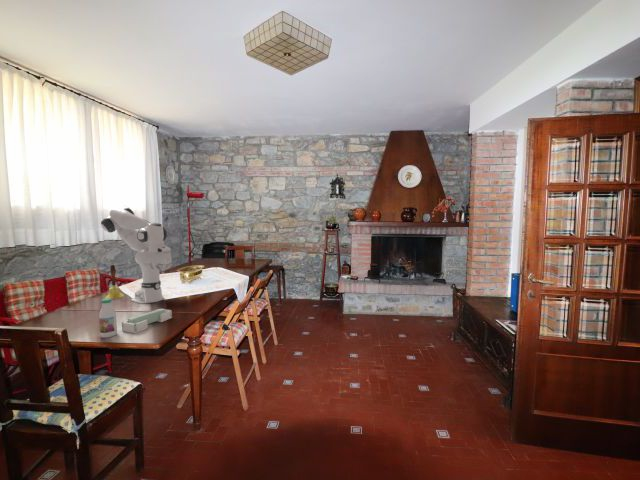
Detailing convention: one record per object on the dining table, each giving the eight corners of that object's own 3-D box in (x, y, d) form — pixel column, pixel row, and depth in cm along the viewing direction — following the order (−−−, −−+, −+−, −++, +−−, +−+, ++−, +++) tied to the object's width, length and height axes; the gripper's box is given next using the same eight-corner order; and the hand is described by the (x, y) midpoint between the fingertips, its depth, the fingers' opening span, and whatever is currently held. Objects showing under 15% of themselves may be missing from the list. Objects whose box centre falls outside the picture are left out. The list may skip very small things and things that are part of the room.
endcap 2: (159, 315, 204) (159, 308, 203) (171, 317, 200) (171, 310, 200) (149, 320, 196) (148, 312, 196) (161, 322, 193) (161, 314, 192)
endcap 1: (135, 333, 176) (134, 324, 175) (122, 330, 179) (121, 322, 179) (147, 327, 183) (147, 319, 183) (134, 325, 187) (134, 317, 186)
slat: (131, 329, 180) (131, 319, 179) (128, 327, 181) (127, 318, 181) (165, 317, 198) (165, 309, 197) (162, 317, 199) (162, 308, 199)
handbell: (117, 299, 241) (115, 266, 238) (101, 299, 241) (98, 266, 239) (127, 294, 253) (125, 263, 251) (112, 294, 253) (110, 263, 251)
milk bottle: (105, 332, 177) (103, 297, 175) (120, 332, 177) (117, 297, 175) (97, 338, 169) (94, 301, 167) (112, 337, 170) (109, 301, 168)
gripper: (139, 248, 204) (141, 269, 205) (165, 249, 197) (166, 272, 198) (148, 247, 210) (149, 268, 211) (172, 248, 203) (173, 270, 204)
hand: (157, 270), depth 205 cm, fingers open, 8 cm apart
